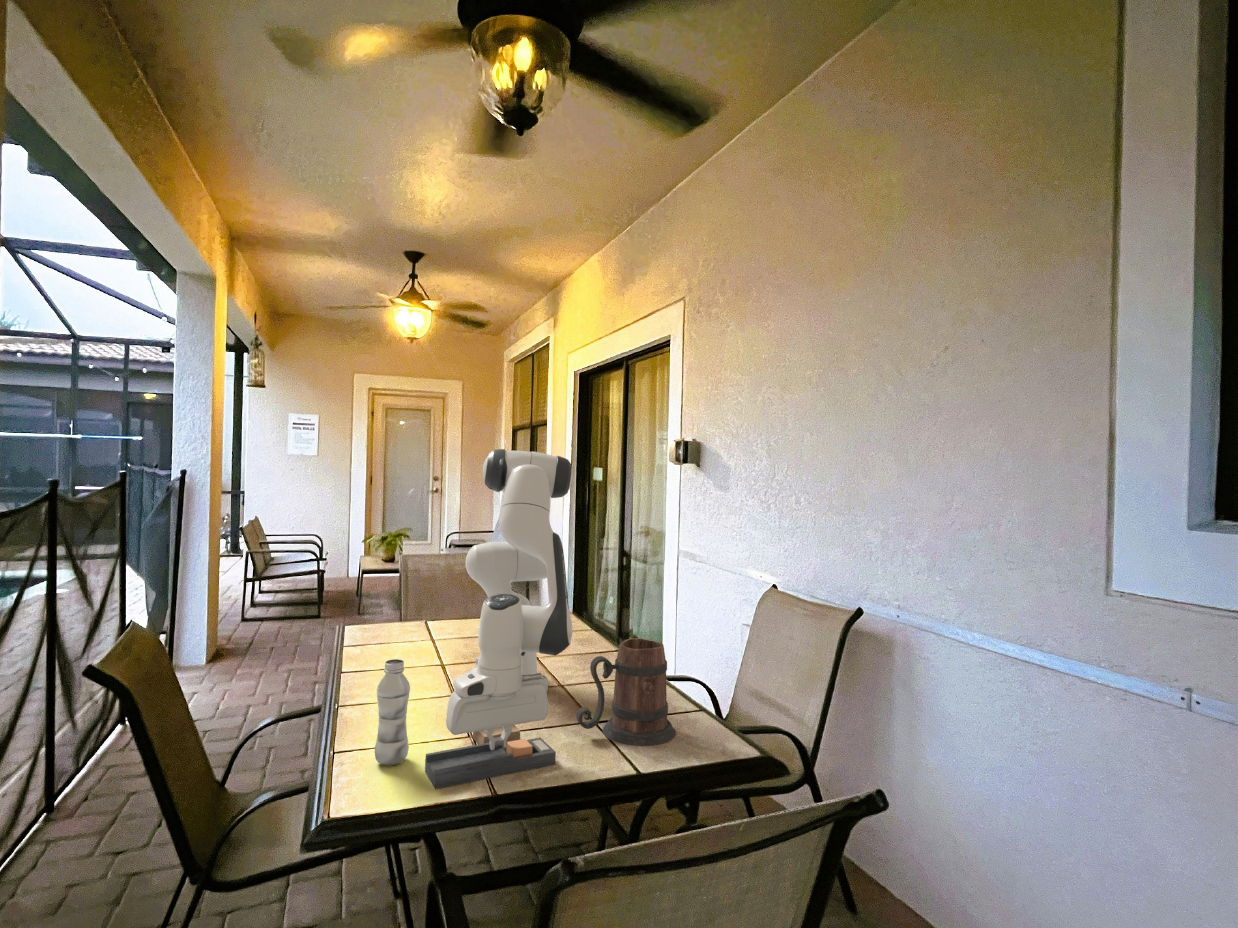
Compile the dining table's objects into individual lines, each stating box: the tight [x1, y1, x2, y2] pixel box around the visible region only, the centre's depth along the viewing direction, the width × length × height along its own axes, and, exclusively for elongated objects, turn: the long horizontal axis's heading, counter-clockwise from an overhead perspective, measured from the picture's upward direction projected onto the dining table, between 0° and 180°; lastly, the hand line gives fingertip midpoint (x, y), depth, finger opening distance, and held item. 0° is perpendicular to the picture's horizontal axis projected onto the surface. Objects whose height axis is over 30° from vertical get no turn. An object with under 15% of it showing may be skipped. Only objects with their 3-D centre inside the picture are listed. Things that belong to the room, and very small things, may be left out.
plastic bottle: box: [374, 658, 411, 766], centre depth 132 cm, size 6×7×20 cm
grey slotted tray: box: [424, 737, 557, 790], centre depth 130 cm, size 8×24×4 cm, turn 119°
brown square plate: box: [472, 725, 521, 745], centre depth 143 cm, size 8×8×3 cm
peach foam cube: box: [506, 738, 532, 757], centre depth 133 cm, size 4×4×4 cm
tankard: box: [576, 637, 677, 747], centre depth 150 cm, size 24×17×20 cm
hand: (497, 748), depth 131 cm, fingers closed
